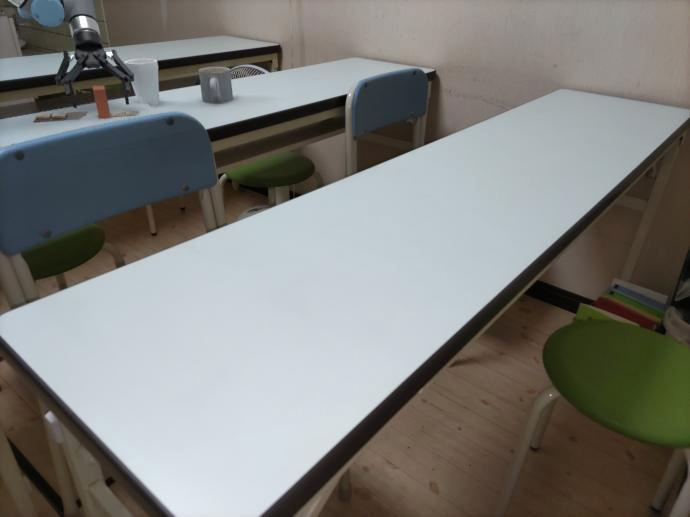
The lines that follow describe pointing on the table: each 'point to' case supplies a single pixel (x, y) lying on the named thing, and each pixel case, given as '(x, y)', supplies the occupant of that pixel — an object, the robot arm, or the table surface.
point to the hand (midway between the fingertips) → (101, 103)
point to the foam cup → (145, 80)
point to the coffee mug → (216, 84)
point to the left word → (59, 116)
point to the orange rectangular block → (101, 102)
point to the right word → (120, 114)
